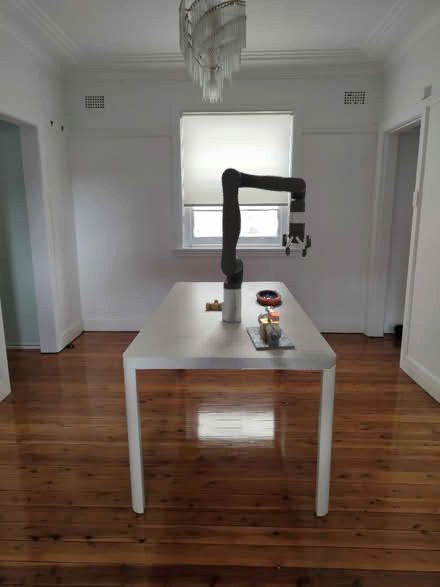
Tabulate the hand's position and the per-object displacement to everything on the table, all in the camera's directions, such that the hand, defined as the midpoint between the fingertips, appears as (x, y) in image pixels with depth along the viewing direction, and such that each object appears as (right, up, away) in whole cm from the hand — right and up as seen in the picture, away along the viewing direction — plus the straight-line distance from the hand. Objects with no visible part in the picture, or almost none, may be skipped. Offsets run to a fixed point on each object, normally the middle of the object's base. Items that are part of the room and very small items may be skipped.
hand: (295, 256), depth 182 cm
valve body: (-15, -38, -13) cm, 43 cm away
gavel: (-39, -26, +44) cm, 64 cm away
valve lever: (-15, -27, -22) cm, 38 cm away
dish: (-6, -23, +55) cm, 60 cm away
